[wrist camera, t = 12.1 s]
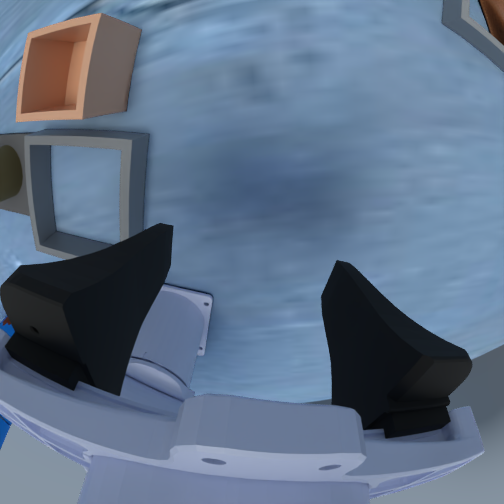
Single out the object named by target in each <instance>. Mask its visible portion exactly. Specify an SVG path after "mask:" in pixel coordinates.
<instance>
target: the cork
mask: <svg viewBox="0 0 504 504" xmlns="http://www.w3.org/2000/svg"><path fill="white" fill-rule="evenodd" d="M22 179H23V174H22V166H21V162H20V159H19V156H18V154H17V152H16V151H15V150H14V148H12V147H11V146H9V145H4V146H2V147H0V202H1V201H4V200H6V199H9V198H11V197H14V196H16V195H17V194H18V193H19V191H20V189H21V186H22Z"/></svg>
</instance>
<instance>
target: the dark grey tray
mask: <svg viewBox="0 0 504 504" xmlns="http://www.w3.org/2000/svg"><path fill="white" fill-rule="evenodd" d="M442 24H443V25H445V26H447V27H448V28H450V29H451V30H452V31H454V32H455V33H457V34H458V35H460V36H461V37H462V38H464V39H465V40H466V41H468V42H469V43H470V44H472V45H473V46H474V47H476V48H477V49H478V50H479V51H481V52H482V53H483V54H484V55H485V56H487V57H488V58H489V59H490V60H491V61H492V62H494V63H495V64H496V65H497V66H498V67H499V68H500V69H501V70H502V71H503V72H504V46H503V45H502V44H501V43H500V42H499V41H498V40H497V39H496V38H495V37H493V36H492V35H491V34H490V33H489V32H488V31H487V30H485V29H484V28H483V27H482V26H481V25H479V24H478V23H477V22H476V21H474V20H473V19H472V18H470V17H469V0H444V2H443V15H442Z"/></svg>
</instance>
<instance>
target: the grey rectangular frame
mask: <svg viewBox="0 0 504 504" xmlns="http://www.w3.org/2000/svg"><path fill="white" fill-rule="evenodd" d="M148 142H149V134H144V133H133V132H121V131H105V130H81V129H45V130H42V131H38V132H35V133H32V134H29V135H26V136H24V150H25V173H26V186H27V196H28V204H29V212H30V219H31V225H32V231H33V236H34V241H35V246H36V250H37V251H40V252H43V253H46V254H49V255H53V256H56V257H59V258H62V259H66V260H68V259H72V258H76V257H79V256H83V255H87V254H90V253H94V252H96V251H99V250H102V249H105V248H107V247H110V246H112V245H111V244H106V243H102V242H98V241H94V240H90V239H86V238H82V237H78V236H74V235H70V234H66V233H62V232H58V231H56V225H55V217H54V208H53V198H52V184H51V157H50V145H59V146H78V147H93V148H105V149H116V150H122V151H121V168H120V242H121V241H123V240H126V239H128V238H130V237H132V236H134V235H136V234H138V233H140V232H142V231H143V212H144V190H145V175H146V162H147V152H148Z"/></svg>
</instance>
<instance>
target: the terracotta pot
mask: <svg viewBox="0 0 504 504" xmlns="http://www.w3.org/2000/svg"><path fill="white" fill-rule="evenodd" d="M141 31H142V30H141V29H139V28H137V27H135V26H132V25H130V24H128V23H126V22H123V21H121V20H118V19H116V18H113V17H111V16H108V15H106V14H103V13H98V14H93V15H88V16H84V17H79V18H75V19H71V20H67V21H64V22H60V23H57V24H53V25H50V26H47V27H44V28H41V29H38V30H35V31H32V32H30V33H28V36H27V40H26V45H25V50H24V55H23V60H22V66H21V72H20V79H19V88H18V97H17V111H16V122H24V121H39V120H65V119H86V118H91V117H96V116H101V115H107V114H113V113H119V112H125V111H127V103H128V96H129V89H130V83H131V77H132V72H133V66H134V61H135V57H136V52H137V47H138V43H139V39H140V35H141Z"/></svg>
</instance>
